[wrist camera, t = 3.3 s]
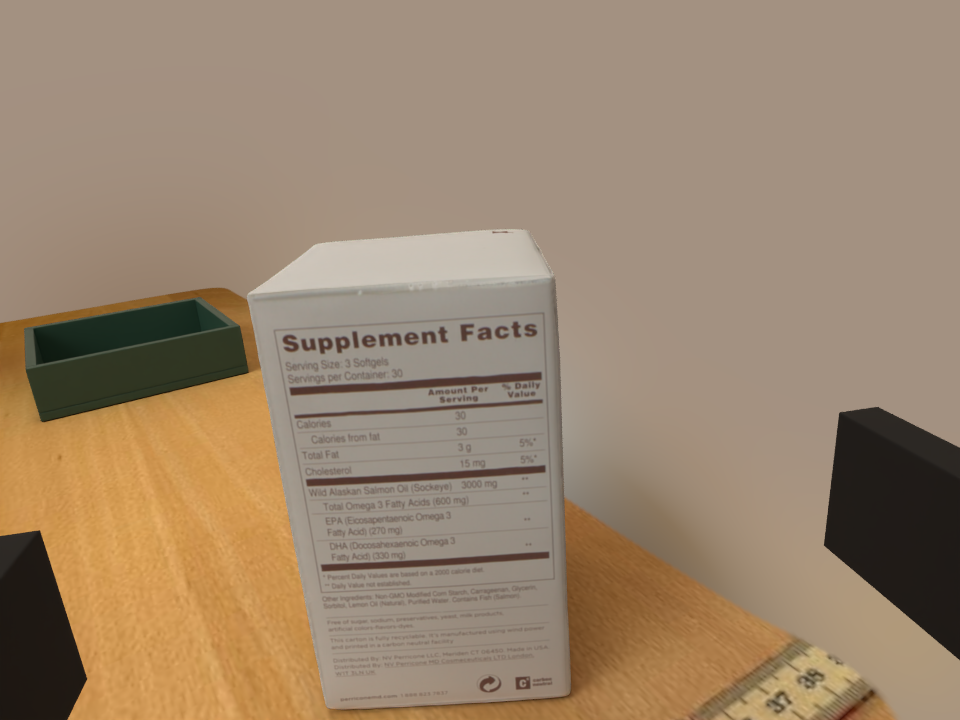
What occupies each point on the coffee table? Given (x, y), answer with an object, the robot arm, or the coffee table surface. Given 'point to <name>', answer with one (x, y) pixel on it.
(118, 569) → the coffee table surface
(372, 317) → the white packaging box
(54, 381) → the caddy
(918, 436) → the robot arm
